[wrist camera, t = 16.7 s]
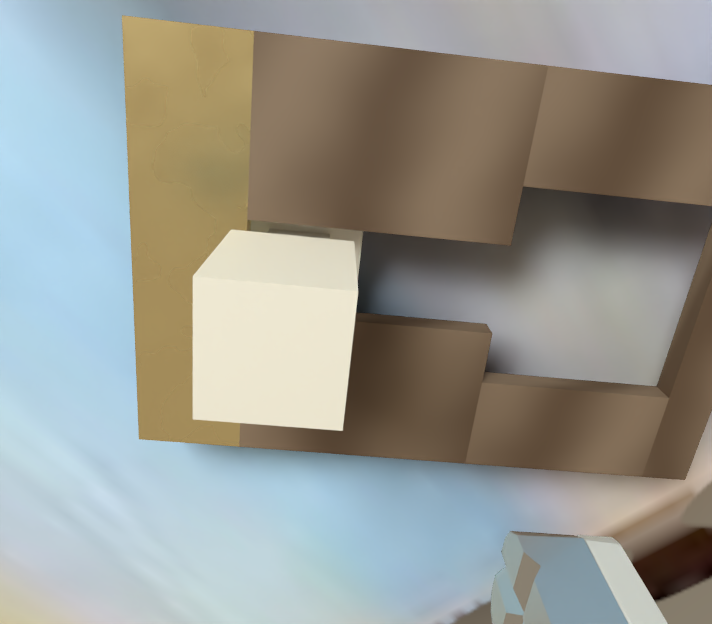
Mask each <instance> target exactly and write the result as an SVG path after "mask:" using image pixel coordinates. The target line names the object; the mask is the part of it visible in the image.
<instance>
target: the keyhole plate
mask: <svg viewBox="0 0 712 624" xmlns="http://www.w3.org/2000/svg"><path fill="white" fill-rule="evenodd" d="M122 28H123V52H124V77H125V102H126V127H127V152H128V177H129V202H130V227H131V251H132V276H133V301H134V326H135V351H136V376H137V401H138V425H139V439H145V440H158V441H171V442H185V443H198V444H211V445H225V446H238V447H252V448H265V449H278V450H292V451H305V452H318V453H332V454H345V455H359V456H372V457H385V458H399V459H412V460H425V461H439V462H452V463H466V464H479V465H492V466H506V467H519V468H533V469H546V470H559V471H573V472H586V473H599V474H613V475H626V476H640V477H653V478H666V479H680V480H685V479H686V476H687V473H688V471H689V468H690V466H691V463H692V460H693V458H694V455H695V452H696V450H697V447H698V445H699V442H700V439H701V437H702V434H703V432H704V429H705V426H706V424H707V421H708V418H709V416H710V413H711V411H712V224H711V227H710V230H709V233H708V236H707V239H706V242H705V245H704V248H703V251H702V254H701V257H700V260H699V262H698V265H697V268H696V271H695V274H694V277H693V280H692V283H691V286H690V289H689V292H688V295H687V298H686V301H685V304H684V307H683V310H682V313H681V316H680V319H679V322H678V325H677V328H676V331H675V334H674V337H673V340H672V343H671V346H670V349H669V352H668V355H667V358H666V361H665V364H664V366H663V369H662V372H661V375H660V378H659V381H658V384H657V387H656V386H644V385H632V384H620V383H608V382H596V381H585V380H573V379H561V378H549V377H537V376H526V375H514V374H502V373H490V372H484V371H485V366H486V361H487V357H488V352H489V347H490V342H491V338H492V332H491V331H490V329H489V328H488V326H487V324H480V323H469V322H458V321H447V320H436V319H425V318H414V317H403V316H391V315H380V314H369V313H358V312H356V316H355V325H354V334H353V343H352V352H351V361H350V370H349V378H348V387H347V396H346V405H345V414H344V423H343V431H337V430H324V429H311V428H298V427H285V426H272V425H259V424H246V423H233V422H220V421H207V420H194V419H193V275H194V274H195V273H196V272H197V270H198V269H199V268H200V267H201V265H202V264H203V263H204V262H205V261H206V259H207V258H208V257H209V256H210V255H211V253H212V252H213V251H214V250H215V248H216V247H217V246H218V245H219V244H220V242H221V241H222V240H223V239H224V237H225V236H226V235H227V234H228V233H229V231H230V230H231V229H232V230H242V231H251V220H255V221H265V222H276V223H286V224H296V225H306V226H316V227H326V228H337V229H347V230H357V231H367V232H377V233H387V234H398V235H408V236H418V237H428V238H438V239H448V240H459V241H469V242H479V243H489V244H499V245H509V246H511V242H512V237H513V232H514V228H515V223H516V218H517V213H518V209H519V204H520V199H521V194H522V189H523V186H525V187H534V188H544V189H553V190H563V191H572V192H582V193H591V194H601V195H611V196H620V197H630V198H639V199H649V200H658V201H668V202H677V203H687V204H696V205H706V206H712V85H707V84H699V83H690V82H682V81H673V80H665V79H656V78H648V77H639V76H631V75H622V74H614V73H605V72H597V71H589V70H580V69H572V68H563V67H555V66H546V65H538V64H529V63H521V62H512V61H504V60H495V59H487V58H478V57H470V56H461V55H453V54H445V53H436V52H428V51H419V50H411V49H402V48H394V47H385V46H377V45H368V44H360V43H351V42H343V41H334V40H326V39H317V38H309V37H301V36H292V35H284V34H275V33H267V32H258V31H250V30H241V29H233V28H224V27H216V26H207V25H199V24H190V23H182V22H174V21H165V20H157V19H148V18H140V17H131V16H123V15H122Z"/></svg>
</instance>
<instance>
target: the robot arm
mask: <svg viewBox="0 0 712 624" xmlns="http://www.w3.org/2000/svg"><path fill="white" fill-rule="evenodd" d="M501 552H502V555H503V559H504V562H505V565H506V567H504V568H503V569H502V570H501V571H499V572H498V573H497V574H496V575H495V578H494V583H493V587H492V592H491V617H492V624H668V623H667V621H666V619H665V618H664V616H663V615H662V613H661V611H660V610H659V608H658V606H657V605H656V603H655V601H654V600H653V598H652V596H651V595H650V593H649V591H648V590H647V588H646V586H645V585H644V583H643V581H642V580H641V578H640V576H639V575H638V573H637V571H636V570H635V568H634V566H633V565H632V563H631V561H630V560H629V558H628V556H627V555H626V553H625V552H624V550H623V548H622V547H621V545H620V543H619V542H618V541H616V540H615V539H614V538H612V537H601V536H584V535H578V536H574V535H561V534H546V533H531V532H516V531H510V532H509V533H508V535H507V536H506V538H505V540H504V544H503V547H502V551H501Z"/></svg>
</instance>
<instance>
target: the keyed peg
mask: <svg viewBox="0 0 712 624" xmlns="http://www.w3.org/2000/svg"><path fill="white" fill-rule="evenodd" d="M362 238H363V231H357V230H347V229H337V228H326V227H316V226H306V225H296V224H286V223H276V222H265V221H255V220H251V231H242V230H232V229H231V230H230V231H229V233H228V234H227V235H226V236H225V237H224V239H223V240H222V241H221V242H220V244H219V245H218V246H217V247H216V248H215V250H214V251H213V252H212V253H211V255H210V256H209V257H208V258H207V259H206V261H205V262H204V263H203V264H202V265H201V267H200V268H199V269H198V270H197V272H196V273H195V274H194V275H193V419H194V420H207V421H220V422H233V423H246V424H259V425H272V426H285V427H298V428H311V429H324V430H337V431H343V423H344V414H345V405H346V396H347V387H348V378H349V370H350V361H351V352H352V343H353V334H354V325H355V316H356V307H357V299H358V274H359V265H360V256H361V247H362Z"/></svg>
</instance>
